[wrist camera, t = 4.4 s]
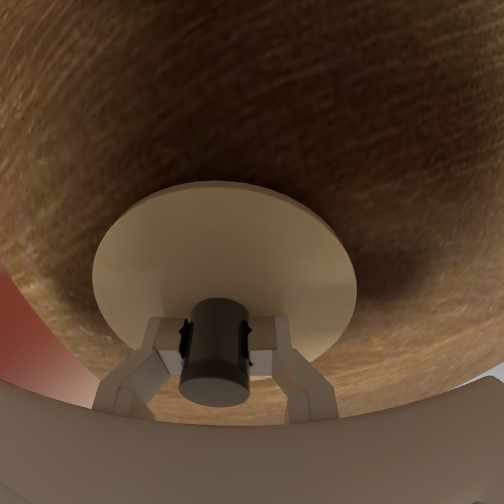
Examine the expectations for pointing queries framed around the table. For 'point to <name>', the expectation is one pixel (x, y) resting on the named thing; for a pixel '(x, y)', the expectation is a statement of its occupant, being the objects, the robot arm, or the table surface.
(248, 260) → the lid
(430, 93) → the table surface
